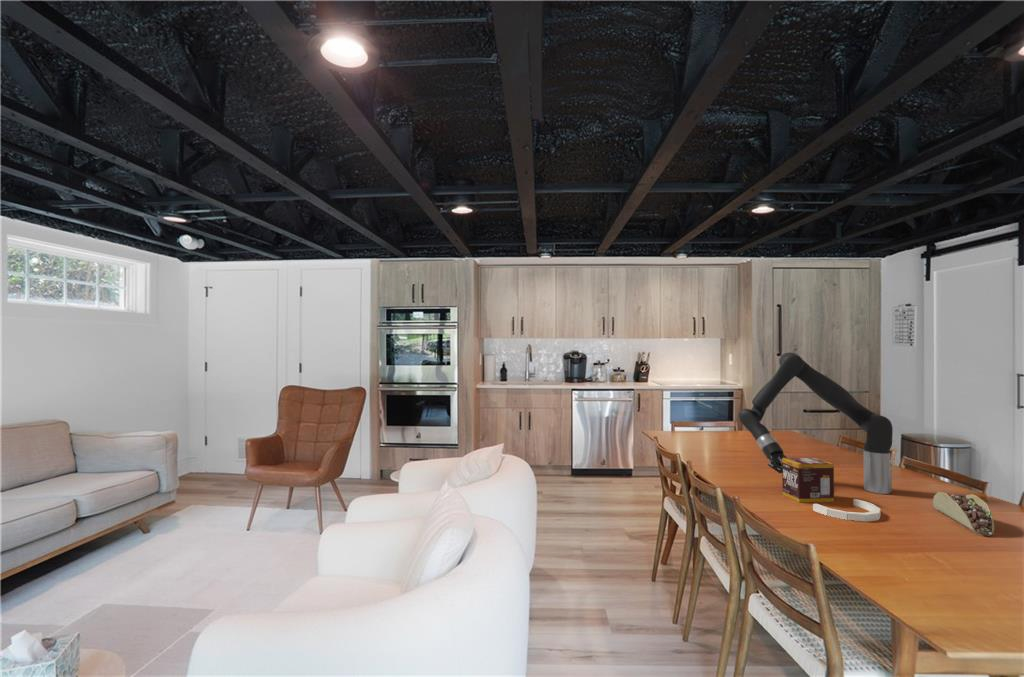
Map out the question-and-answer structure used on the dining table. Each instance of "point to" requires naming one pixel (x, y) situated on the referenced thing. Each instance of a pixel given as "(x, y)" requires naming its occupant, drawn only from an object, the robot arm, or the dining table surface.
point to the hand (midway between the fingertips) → (793, 480)
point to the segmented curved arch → (867, 516)
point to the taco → (966, 511)
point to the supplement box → (808, 479)
